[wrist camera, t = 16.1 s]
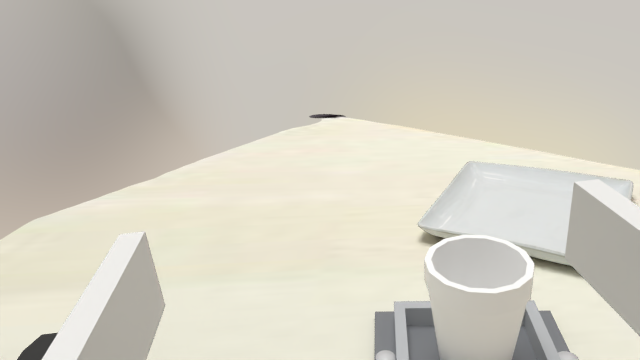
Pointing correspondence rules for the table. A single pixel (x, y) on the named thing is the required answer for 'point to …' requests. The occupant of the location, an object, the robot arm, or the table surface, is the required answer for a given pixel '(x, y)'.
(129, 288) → the robot arm
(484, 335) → the foam cup
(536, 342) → the tray
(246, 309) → the table surface
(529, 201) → the square plate
